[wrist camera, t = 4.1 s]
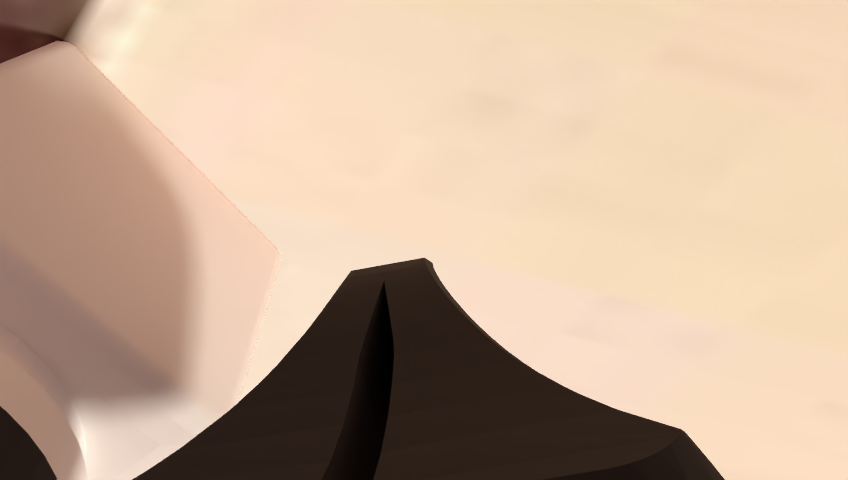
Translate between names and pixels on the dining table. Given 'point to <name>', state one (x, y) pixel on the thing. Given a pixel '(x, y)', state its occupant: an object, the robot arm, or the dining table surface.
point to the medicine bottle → (112, 280)
